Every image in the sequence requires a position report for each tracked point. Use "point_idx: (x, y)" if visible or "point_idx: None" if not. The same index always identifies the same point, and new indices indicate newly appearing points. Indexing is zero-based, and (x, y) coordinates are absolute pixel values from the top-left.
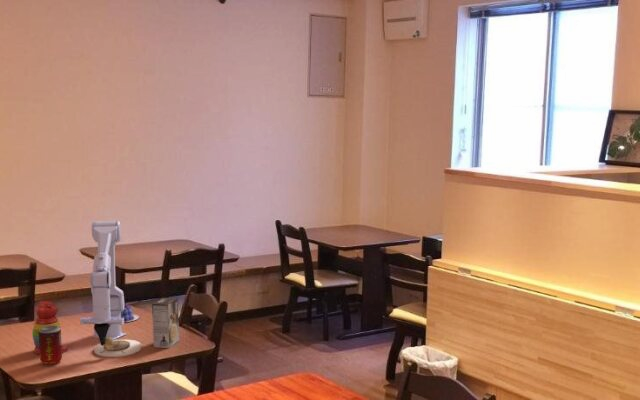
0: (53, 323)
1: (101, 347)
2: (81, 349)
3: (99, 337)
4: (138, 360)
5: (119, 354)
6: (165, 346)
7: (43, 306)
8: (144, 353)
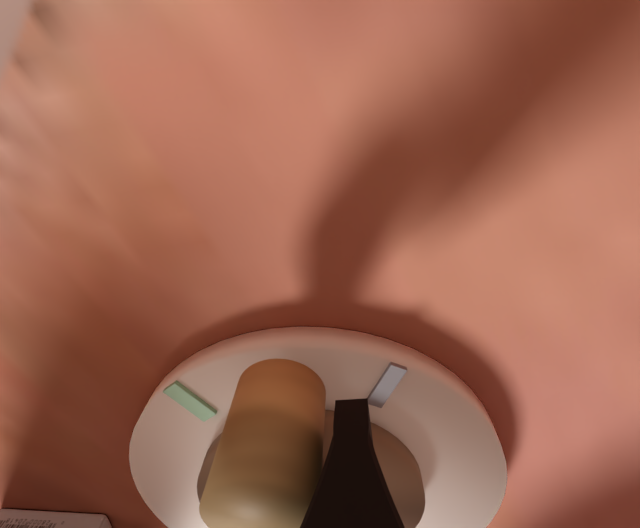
0: None
1: (442, 467)
2: (621, 451)
3: (383, 512)
4: None
5: (204, 360)
6: (18, 519)
7: None
8: (75, 425)
